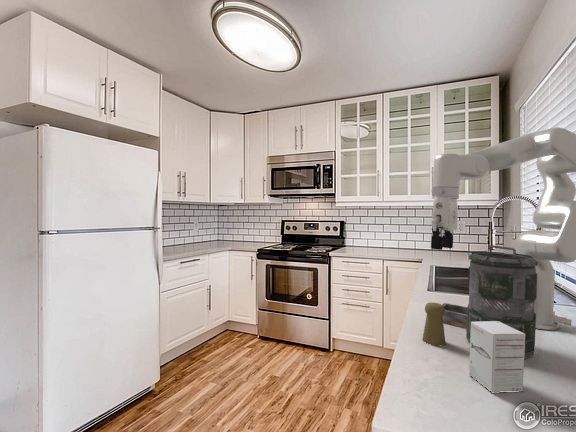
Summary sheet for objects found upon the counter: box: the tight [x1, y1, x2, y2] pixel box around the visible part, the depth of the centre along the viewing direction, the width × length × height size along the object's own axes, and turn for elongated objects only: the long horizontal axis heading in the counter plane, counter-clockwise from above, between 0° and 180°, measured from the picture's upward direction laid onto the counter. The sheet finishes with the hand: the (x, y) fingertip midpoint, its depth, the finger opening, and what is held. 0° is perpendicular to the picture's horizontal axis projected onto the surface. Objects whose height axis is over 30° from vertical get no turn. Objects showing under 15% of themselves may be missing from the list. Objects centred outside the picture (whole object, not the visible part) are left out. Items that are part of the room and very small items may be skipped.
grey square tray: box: [441, 302, 468, 329], centre depth 108 cm, size 10×10×4 cm
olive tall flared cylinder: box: [422, 302, 446, 347], centre depth 91 cm, size 6×6×11 cm
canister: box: [465, 244, 538, 359], centre depth 88 cm, size 16×16×28 cm
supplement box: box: [468, 321, 525, 393], centre depth 69 cm, size 7×7×13 cm
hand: (441, 248), depth 99 cm, fingers open, 9 cm apart
